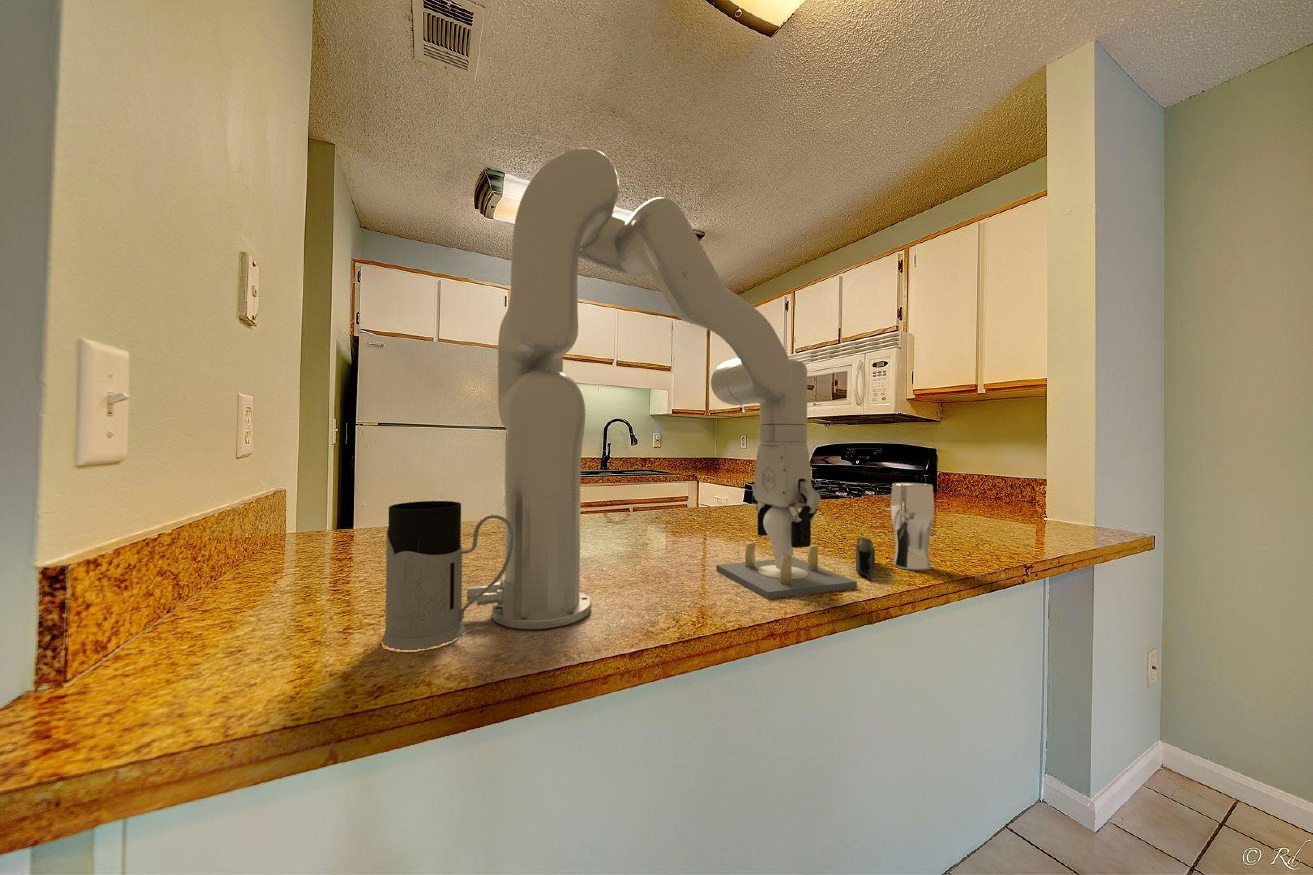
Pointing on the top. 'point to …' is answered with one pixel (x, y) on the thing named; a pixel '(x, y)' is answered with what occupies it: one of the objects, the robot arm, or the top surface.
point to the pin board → (785, 590)
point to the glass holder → (427, 574)
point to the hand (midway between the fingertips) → (782, 540)
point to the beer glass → (912, 524)
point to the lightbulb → (779, 532)
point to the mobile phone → (865, 557)
